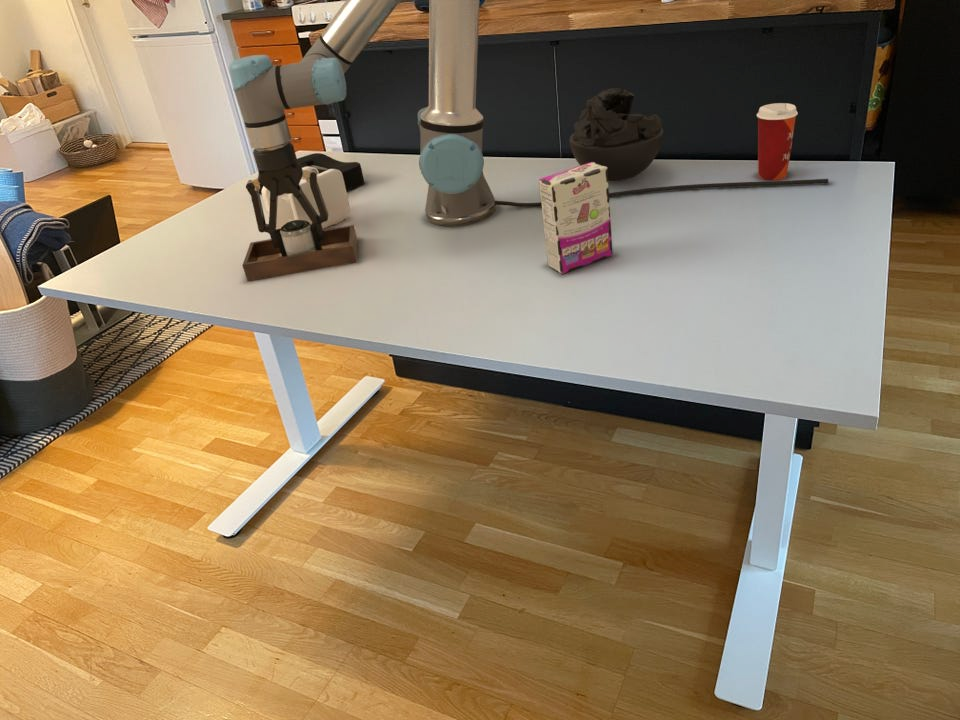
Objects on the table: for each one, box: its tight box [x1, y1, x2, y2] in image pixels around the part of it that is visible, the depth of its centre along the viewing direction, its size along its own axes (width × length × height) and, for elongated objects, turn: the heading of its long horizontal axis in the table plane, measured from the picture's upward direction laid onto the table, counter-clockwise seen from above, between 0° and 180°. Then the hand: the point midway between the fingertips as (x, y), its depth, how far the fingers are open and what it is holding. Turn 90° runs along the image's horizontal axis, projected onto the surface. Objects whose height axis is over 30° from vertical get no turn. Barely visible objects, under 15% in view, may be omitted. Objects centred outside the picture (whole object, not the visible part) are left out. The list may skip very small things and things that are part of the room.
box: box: [242, 224, 358, 282], centre depth 150 cm, size 22×12×4 cm, turn 97°
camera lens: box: [280, 220, 317, 256], centre depth 149 cm, size 6×6×8 cm
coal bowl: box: [569, 87, 664, 182], centre depth 162 cm, size 20×20×19 cm
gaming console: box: [258, 152, 365, 195], centre depth 189 cm, size 27×20×7 cm
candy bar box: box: [538, 162, 613, 275], centre depth 129 cm, size 11×5×16 cm, turn 117°
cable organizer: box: [261, 167, 351, 230], centre depth 164 cm, size 15×11×12 cm
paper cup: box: [756, 102, 799, 181], centre depth 152 cm, size 8×8×14 cm
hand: (303, 258), depth 151 cm, fingers closed on camera lens, 6 cm apart
